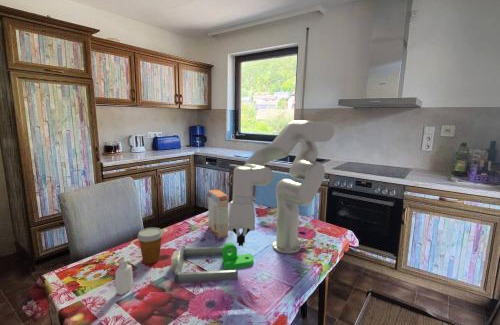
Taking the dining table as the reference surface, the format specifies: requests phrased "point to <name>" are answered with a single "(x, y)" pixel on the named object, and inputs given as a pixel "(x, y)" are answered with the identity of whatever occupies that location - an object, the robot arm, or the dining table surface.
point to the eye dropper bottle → (123, 277)
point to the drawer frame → (199, 276)
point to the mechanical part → (235, 258)
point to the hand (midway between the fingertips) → (240, 244)
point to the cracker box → (218, 213)
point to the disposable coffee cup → (150, 244)
